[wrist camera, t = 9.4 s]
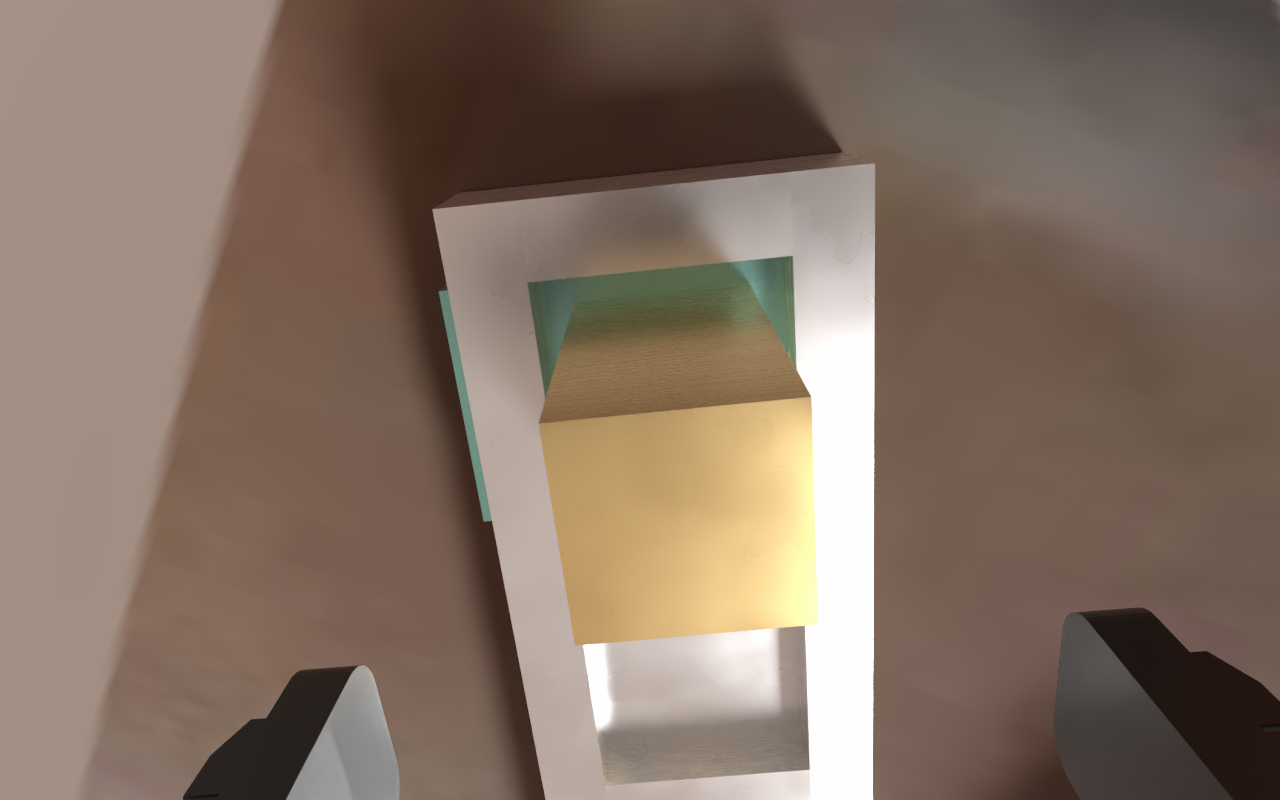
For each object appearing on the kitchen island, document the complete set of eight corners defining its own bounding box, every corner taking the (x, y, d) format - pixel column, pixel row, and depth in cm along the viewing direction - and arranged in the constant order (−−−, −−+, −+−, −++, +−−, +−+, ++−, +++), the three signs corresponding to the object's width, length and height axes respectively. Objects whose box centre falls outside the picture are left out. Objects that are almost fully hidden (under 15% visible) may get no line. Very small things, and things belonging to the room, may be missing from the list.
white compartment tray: (843, 152, 19) (875, 162, 16) (851, 927, 28) (871, 1010, 26) (450, 193, 19) (422, 210, 17) (588, 946, 29) (583, 1030, 26)
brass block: (750, 284, 18) (811, 397, 12) (759, 445, 20) (818, 624, 13) (573, 302, 18) (538, 423, 12) (595, 460, 20) (574, 645, 13)
